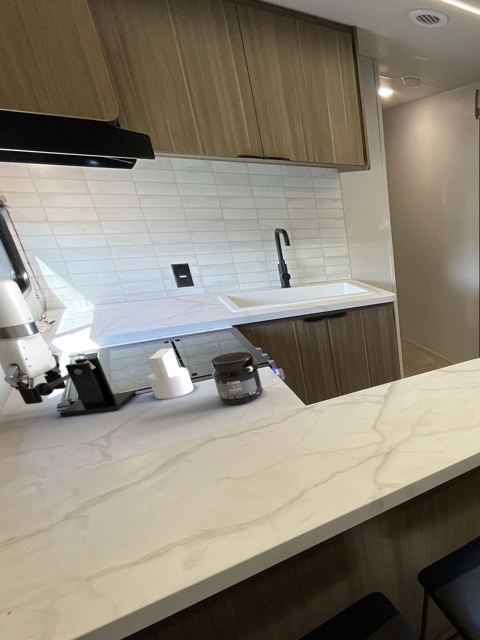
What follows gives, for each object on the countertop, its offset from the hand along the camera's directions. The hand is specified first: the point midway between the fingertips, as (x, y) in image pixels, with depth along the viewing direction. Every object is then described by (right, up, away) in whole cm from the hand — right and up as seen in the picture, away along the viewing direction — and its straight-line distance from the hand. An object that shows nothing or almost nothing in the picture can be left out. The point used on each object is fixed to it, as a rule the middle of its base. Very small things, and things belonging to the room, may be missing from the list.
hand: (47, 395), depth 104 cm
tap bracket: (+9, -3, +5) cm, 11 cm away
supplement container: (+46, -1, +9) cm, 46 cm away
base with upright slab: (+23, 0, +12) cm, 26 cm away
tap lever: (+5, +3, +1) cm, 6 cm away
